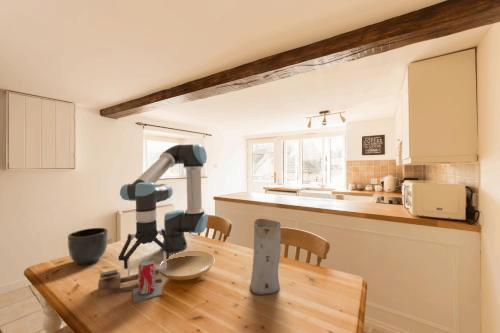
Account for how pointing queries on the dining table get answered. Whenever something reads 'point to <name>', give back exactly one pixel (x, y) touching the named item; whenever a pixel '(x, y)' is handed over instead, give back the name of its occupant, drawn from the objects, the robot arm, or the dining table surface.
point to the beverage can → (146, 276)
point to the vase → (266, 257)
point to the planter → (87, 245)
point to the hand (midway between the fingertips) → (147, 271)
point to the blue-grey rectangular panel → (109, 273)
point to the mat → (141, 297)
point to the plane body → (118, 284)
